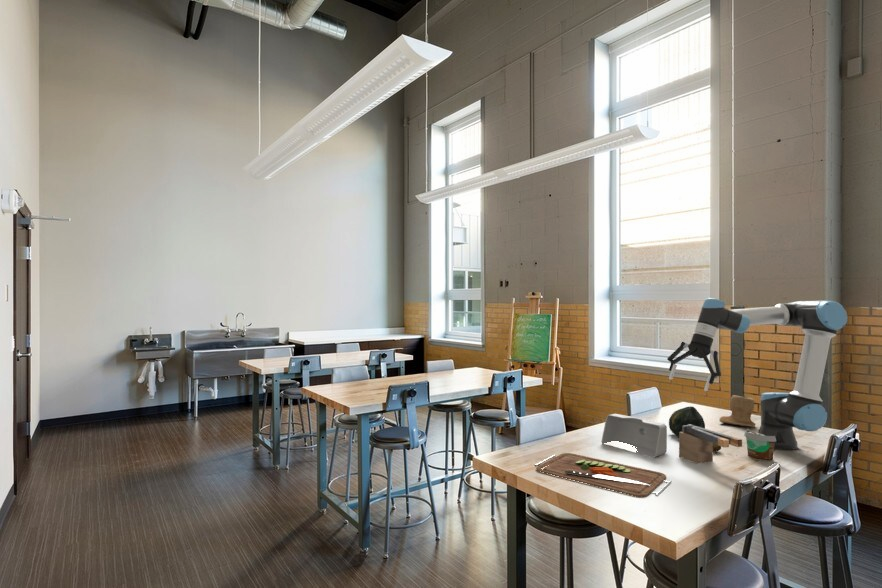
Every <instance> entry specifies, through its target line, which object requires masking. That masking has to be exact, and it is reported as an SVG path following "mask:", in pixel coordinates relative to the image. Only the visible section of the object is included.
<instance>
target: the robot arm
mask: <svg viewBox="0 0 882 588" xmlns="http://www.w3.org/2000/svg"><path fill="white" fill-rule="evenodd" d="M847 322H848V314H847V311H846V309H845V308H844V306H843V305H842V304H840V303H839V302H838V301H834V300H825V299H822V300H819V299H818V300H807V299H806V300H797V301H792V302H785V303H777V304H776V305H774V306H765V307H763V306H762V307H750V308H737V309H736V308H735V309H728V308H726V303H725V302H724V300H723V301H722V299H721V300H720V299H719V298H713V297H707V298H705V300H704V302H703V304H702V306H701V310H700V312H699V316H698V318H697V323H696V324H695V325H696V326H695V329H694V333H693V334H692V337H691V341H690V343H686V342H685V341H681V343H680V345H679V347H678V348H676V349H675V350H674V351H673V352H672V353H671V354H670V355H669V356H668V357H667V361H668V362H670V365H669V369H668V370H669V372H670V374H669V377H668V379H669V380H670V381H672V380H673V379H674V376H675V372H676V370H677V366H678V365H677V363H680V362H681V361H683V360H685V359H686V358H689V357H690V356H692V357H694V358H698V359H703V360H704V362H705V365H706V366H707V369H708V371H709V373H710V374H708V377H707V380H706V383H705V385H704V389H703V391H704V392H708V390H709V387H710V384H711V385H713V384H714V382H715V378H716V377H721V376H722V372H721V367H720V362H719V352H718V351H717V350H712V344H713V343H714V338H715V336H716V333H717V330H718V329H719V330H727V331H732V332H734V333H739V334H744V333H745V332H747V331H748V330H749V328H750V326H761V325H775V324H776V325H779V326H782V327H783V326H792V327H801V331H802V332H803V333H804V338H803V339H804V340H803V343H802V349H801V354H800V358H799V363H798V369H797V373H796V378H795V384H794V386H793V387H794V388H793V390H792V391H790V392H777V391H776V392H775V391H773V392H762V393H761V396H760V427H759V429H758V432H757V433H761V434H764V435H766V436H775V438H776V441H775V444H774V450H775V449H776V450H786V451H789V450H790V451H791V450H796V449H798V441H797V439H796V435H795V432H794V429H793V428H795V429H797V430H801V431H806V432H815V431H818V430H820V429H821V428H823V427H824V426H825V424H826V423H827V419H828V412H827V411H826V409H825V407H824V406H823V401H824V400H822V398H821V396H820V392H821V389H822V383H823V378H824V373H825V368H826V364H827V359H828V353H829V349H830V344H831V339H833V338H834V337H836V336H837V334H838V330H840V329H842V328H843V327H845V326H846V324H847ZM687 348H688V350H687V351H685V352H684V353H682V354H681V352H682V351H683V350H684V349H687ZM679 354H681V355H679ZM710 354H711V356H712V359H713V363H714V367H715V370H714V368H713V366H712V364H711V363H710V360H709V358H708V356H709V355H710ZM678 355H679V356H678Z"/></svg>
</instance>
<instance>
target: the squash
mask: <svg viewBox="0 0 882 588" xmlns="http://www.w3.org/2000/svg"><path fill="white" fill-rule="evenodd" d="M688 424H691V425H694V426H698V427H701V428H704V429H706V423H705V420H704V417H703V416H702V415H701V413H700V412H699V410H697V408H695V407H694V406H691V405H690V406H686V407H683V408H680V409H677V410H674V412H672V414H671V415H670V417H669V420H668V427H669V430H670V431H671V432H672V434H674V435H676V436H678V437H679V432H682V426H684V425H688Z"/></svg>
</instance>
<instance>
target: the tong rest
mask: <svg viewBox="0 0 882 588" xmlns="http://www.w3.org/2000/svg"><path fill="white" fill-rule="evenodd" d="M686 426H688V425H684V426H682V432H679V436H678V457H679V458H682V459H684V460H686V461H690V462H691V463H695V464H704V463H705V464H706V463H713V462H714V452H713V443H712V442H709V441H707V440H705V439H702V438H700V437H697V436H695V435H692V434H690V433H687V432H686ZM693 427H695V428H698V429H701V430H703V431H706V432H709V433H711V434H714V435H716V436H719V437H722V438H725V439H728V440H729V446H733V447H737V448H741V447H743V439H742V438H738V437H735V436H732V435H727V434H724V433H721V432H717V431H715V430H714V431H713V430H711V429H708V428H705V429H704V428H701V427H698V426H694V425H693Z"/></svg>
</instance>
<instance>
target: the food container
mask: <svg viewBox="0 0 882 588" xmlns="http://www.w3.org/2000/svg"><path fill="white" fill-rule="evenodd" d="M743 436H744V437H745V439H746V448H747V456H748V458H752V459H754V460H759V461H769V462H770V461H774V451H775V448H774V444H775V441H776V438H775V436H766V435H764V434H761V433H758V432H755V431H754V432H753V431H750V429H749V428H747V429H745V430H744V435H743Z"/></svg>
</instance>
